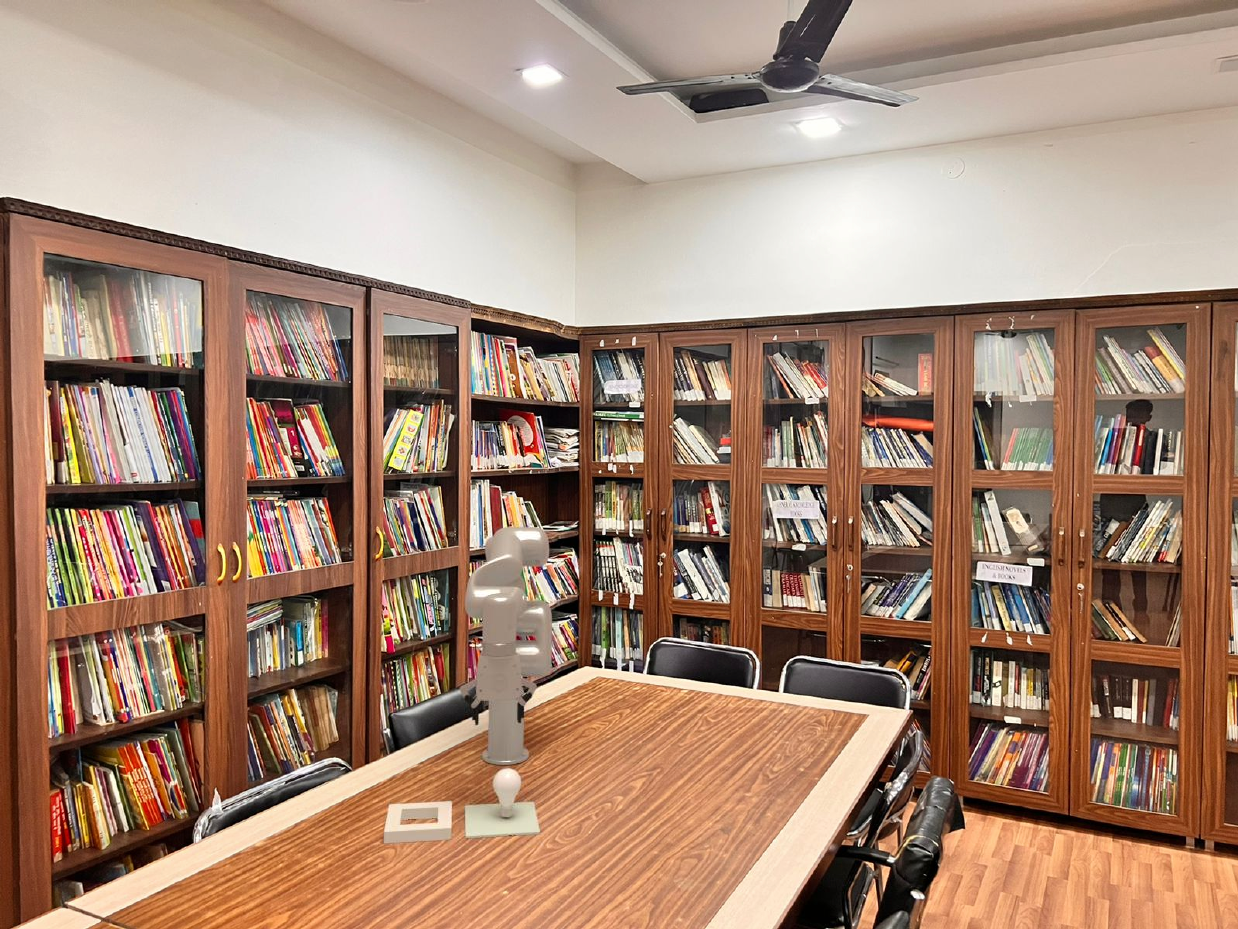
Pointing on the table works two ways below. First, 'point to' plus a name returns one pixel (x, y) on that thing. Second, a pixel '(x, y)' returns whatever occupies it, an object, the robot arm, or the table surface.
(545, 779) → the table surface
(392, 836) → the pocket holder
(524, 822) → the sage mat
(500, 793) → the lightbulb
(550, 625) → the robot arm
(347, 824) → the table surface
